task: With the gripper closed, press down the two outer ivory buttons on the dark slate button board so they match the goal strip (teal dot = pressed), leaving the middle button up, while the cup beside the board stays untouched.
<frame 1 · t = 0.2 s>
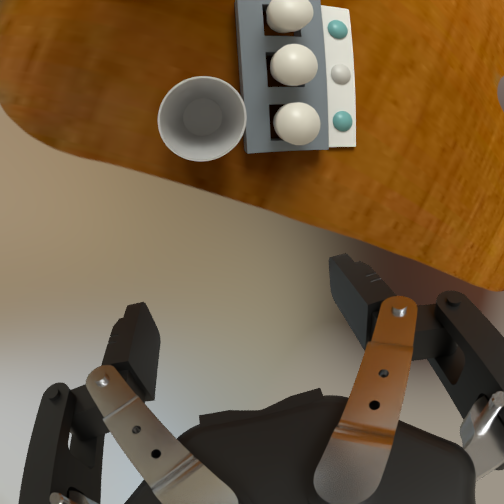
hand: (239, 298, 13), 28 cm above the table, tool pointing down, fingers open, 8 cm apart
button a: (286, 14, 26), point 5 cm above the table, slide at 0.0 cm
cup: (203, 117, 35), on the table
goal strip: (338, 74, 34), on the table
button c: (293, 122, 32), point 5 cm above the table, slide at 0.0 cm
board: (279, 72, 33), on the table
button b: (290, 66, 29), point 5 cm above the table, slide at 0.0 cm
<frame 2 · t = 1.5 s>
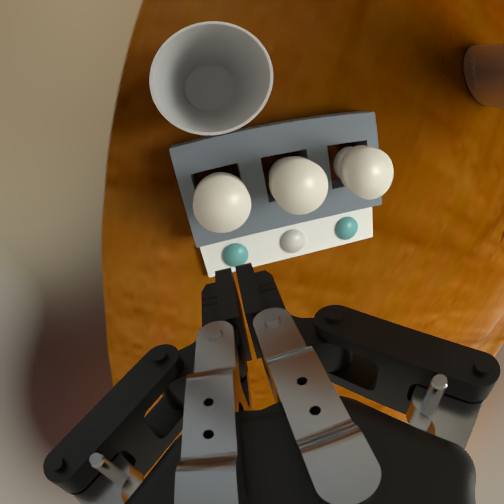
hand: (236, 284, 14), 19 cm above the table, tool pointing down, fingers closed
button a: (360, 168, 27), point 5 cm above the table, slide at 0.0 cm
cup: (209, 87, 26), on the table
goal strip: (291, 238, 35), on the table
button c: (220, 197, 26), point 5 cm above the table, slide at 0.0 cm
board: (280, 169, 31), on the table
button b: (294, 181, 26), point 5 cm above the table, slide at 0.0 cm
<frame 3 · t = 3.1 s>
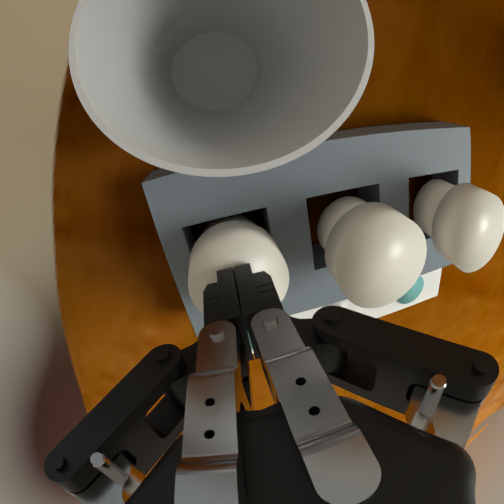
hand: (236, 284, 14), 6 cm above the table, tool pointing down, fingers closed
button a: (456, 218, 15), point 5 cm above the table, slide at 0.0 cm
cup: (214, 71, 15), on the table
goal strip: (335, 306, 23), on the table
button c: (234, 260, 16), point 4 cm above the table, slide at 1.5 cm, touching gripper
board: (328, 210, 19), on the table
button b: (364, 243, 15), point 5 cm above the table, slide at 0.0 cm
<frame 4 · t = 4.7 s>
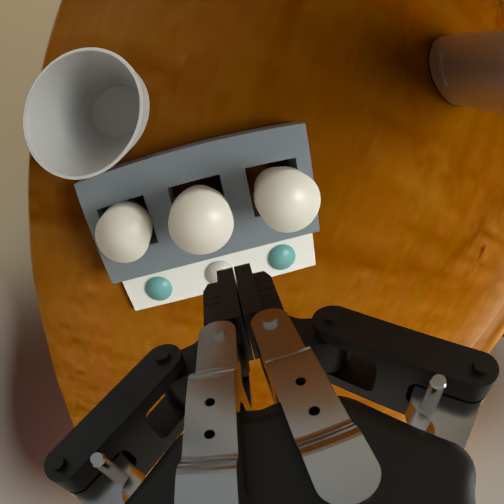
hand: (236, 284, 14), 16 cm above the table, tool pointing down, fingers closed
button a: (282, 194, 24), point 5 cm above the table, slide at 0.0 cm
cup: (117, 111, 23), on the table
goal strip: (219, 270, 32), on the table
button c: (127, 226, 25), point 3 cm above the table, slide at 2.2 cm
board: (199, 196, 28), on the table
button b: (200, 214, 23), point 5 cm above the table, slide at 0.0 cm
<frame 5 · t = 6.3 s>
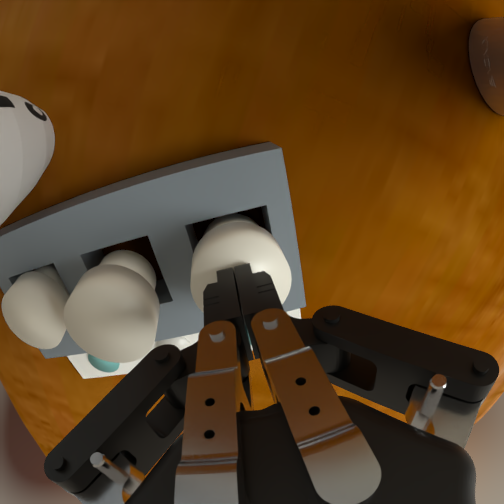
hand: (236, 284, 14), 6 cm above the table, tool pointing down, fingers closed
button a: (236, 261, 16), point 4 cm above the table, slide at 1.0 cm, touching gripper
cup: (26, 143, 15), on the table
goal strip: (174, 342, 23), on the table
button c: (44, 299, 17), point 3 cm above the table, slide at 2.2 cm
board: (135, 255, 19), on the table
button b: (117, 300, 15), point 5 cm above the table, slide at 0.0 cm
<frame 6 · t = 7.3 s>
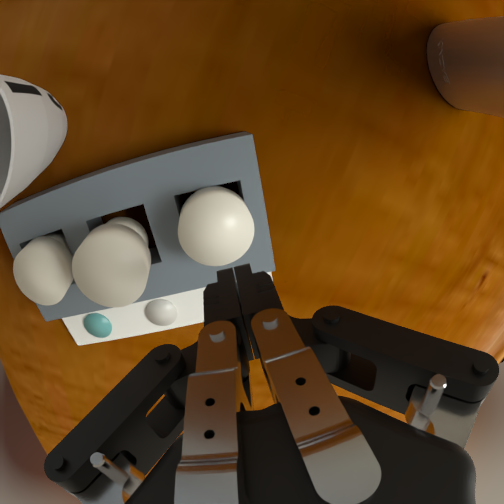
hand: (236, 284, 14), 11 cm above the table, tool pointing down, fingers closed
button a: (214, 219, 20), point 3 cm above the table, slide at 2.2 cm
cup: (41, 129, 18), on the table
goal strip: (162, 308, 26), on the table
button c: (50, 262, 19), point 3 cm above the table, slide at 2.2 cm
board: (131, 226, 23), on the table
button b: (116, 255, 18), point 5 cm above the table, slide at 0.0 cm
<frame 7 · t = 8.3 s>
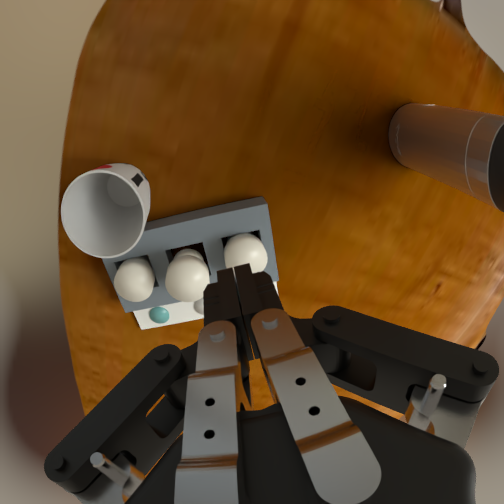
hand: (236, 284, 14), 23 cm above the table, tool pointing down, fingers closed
button a: (243, 251, 35), point 3 cm above the table, slide at 2.2 cm
cup: (126, 186, 33), on the table
goal strip: (204, 303, 41), on the table
button c: (136, 274, 35), point 3 cm above the table, slide at 2.2 cm
board: (189, 251, 38), on the table
button b: (187, 272, 33), point 5 cm above the table, slide at 0.0 cm
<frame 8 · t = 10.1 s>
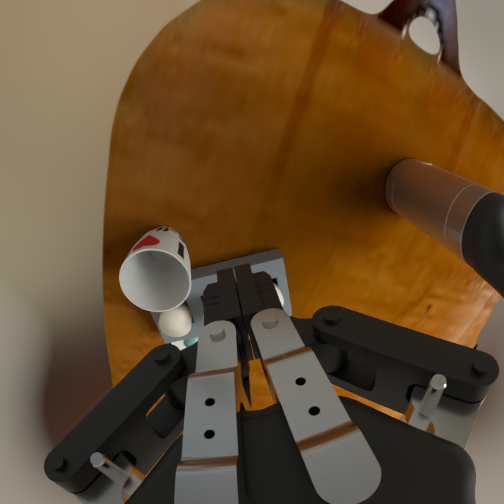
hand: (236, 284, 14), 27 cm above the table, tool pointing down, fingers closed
button a: (264, 294, 43), point 3 cm above the table, slide at 2.2 cm
cup: (164, 243, 41), on the table
button c: (175, 314, 43), point 3 cm above the table, slide at 2.2 cm
board: (218, 293, 46), on the table
button b: (220, 314, 41), point 5 cm above the table, slide at 0.0 cm
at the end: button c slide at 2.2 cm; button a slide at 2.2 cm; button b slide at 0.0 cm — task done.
